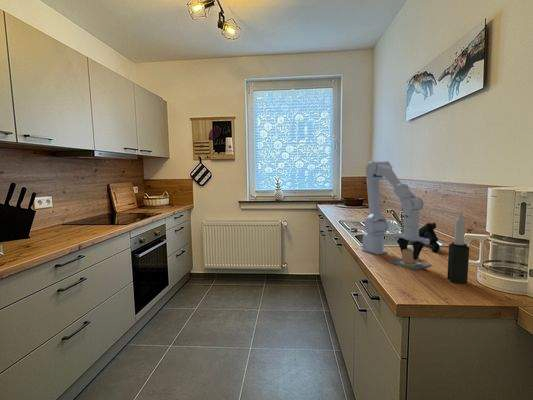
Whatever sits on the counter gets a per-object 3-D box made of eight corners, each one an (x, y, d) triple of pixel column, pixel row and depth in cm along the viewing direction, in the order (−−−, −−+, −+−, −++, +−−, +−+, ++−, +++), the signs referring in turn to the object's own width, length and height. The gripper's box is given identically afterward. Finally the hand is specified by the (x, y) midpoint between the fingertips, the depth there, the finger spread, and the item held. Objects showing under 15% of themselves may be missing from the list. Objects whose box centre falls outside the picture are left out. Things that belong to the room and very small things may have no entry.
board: (389, 262, 122) (389, 261, 122) (404, 258, 128) (404, 257, 127) (416, 270, 112) (416, 269, 112) (431, 265, 117) (431, 264, 117)
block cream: (403, 257, 129) (403, 246, 129) (408, 255, 132) (409, 245, 131) (412, 259, 125) (413, 248, 125) (418, 258, 128) (418, 247, 127)
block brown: (402, 261, 120) (402, 249, 120) (408, 259, 123) (408, 248, 122) (412, 263, 116) (412, 252, 116) (418, 262, 119) (418, 250, 118)
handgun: (423, 259, 155) (419, 233, 160) (443, 250, 134) (437, 220, 140) (414, 259, 155) (410, 233, 161) (433, 250, 134) (427, 220, 140)
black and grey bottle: (468, 284, 98) (472, 212, 95) (452, 283, 99) (456, 212, 96) (461, 278, 103) (465, 210, 100) (446, 277, 104) (449, 210, 101)
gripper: (434, 227, 114) (432, 260, 115) (400, 222, 126) (399, 252, 128) (424, 229, 110) (423, 263, 112) (391, 224, 123) (390, 254, 124)
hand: (410, 257), depth 119 cm, fingers closed on block brown, 4 cm apart
